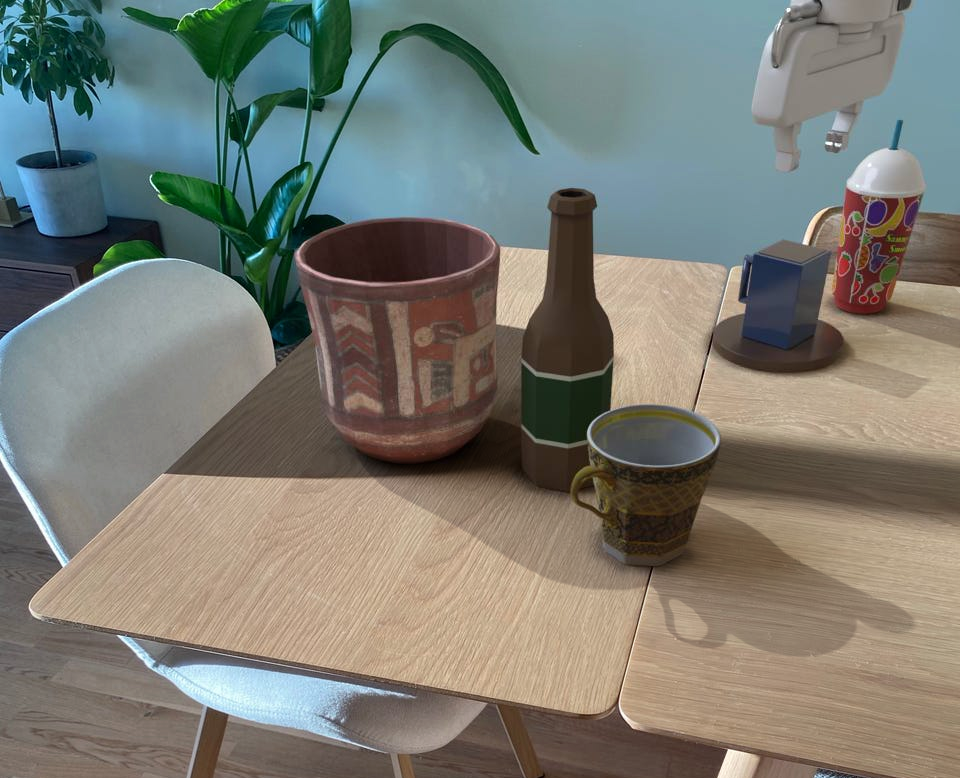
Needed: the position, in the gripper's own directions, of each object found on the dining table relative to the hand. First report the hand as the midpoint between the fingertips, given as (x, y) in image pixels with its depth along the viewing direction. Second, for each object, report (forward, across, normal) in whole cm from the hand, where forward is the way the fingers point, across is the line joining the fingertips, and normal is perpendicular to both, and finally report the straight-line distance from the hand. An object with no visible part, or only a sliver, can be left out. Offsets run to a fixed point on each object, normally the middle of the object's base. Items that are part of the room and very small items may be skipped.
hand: (811, 160), depth 97 cm
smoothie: (+19, +16, -1) cm, 25 cm away
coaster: (+19, -1, 0) cm, 19 cm away
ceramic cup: (+19, -43, -13) cm, 49 cm away
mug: (+18, -1, +1) cm, 18 cm away
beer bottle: (+19, -37, -1) cm, 42 cm away
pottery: (+20, -42, +15) cm, 48 cm away
